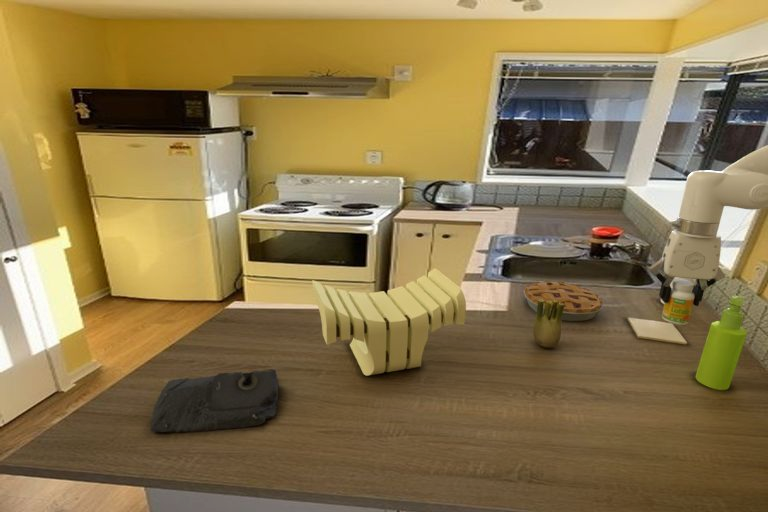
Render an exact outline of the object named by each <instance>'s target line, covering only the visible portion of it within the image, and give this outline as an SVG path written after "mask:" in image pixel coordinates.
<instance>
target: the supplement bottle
mask: <svg viewBox="0 0 768 512" xmlns="http://www.w3.org/2000/svg"><path fill="white" fill-rule="evenodd" d="M694 285H695V284H693V283H692V282H689V281H686V280H680V279H677V280H674V281H673V284H672V287H673V288H671V293H670V297H669V302H667V303H665V304H663V309H662V313H661V319H662V320H664V322H666V323H672V324H673V325H677V326H678V325H680V326H681V325H682V326H683V325H687V324H689V321H690V317H691V313H692V309H693V306H694V304H693V302H694V298H695V295H694V293H693V292H691V291H692V290H693V287H694Z"/></svg>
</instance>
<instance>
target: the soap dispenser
mask: <svg viewBox="0 0 768 512" xmlns="http://www.w3.org/2000/svg"><path fill="white" fill-rule="evenodd" d="M745 299H746V297H745V296H742V295H737V294H733V295H732V296H731V297H730V300H729V302H728V306H729V305H730V306H729V307H728V308H724V309H723V310H722V314H721V317H720V320H716V321H712V322H711V323H710V326H709V330H708V334H707V337H706V340H705V344H704V346H703V350H702V353H701V356H700V360H699V364H698V366H697V370H696V373H695V380H697V381H698V383H700V384H702V385H703V386H705V387H707V388H710V389H713V390H718V391H726V390H728V389H729V388H730V386H731V383H732V380H733V377H734V373H735V370H736V368H737V365H738V362H739V358H740V355H741V353H742V349H743V347H744V343H745V340H746V338H747V335H748V330H747V329H745V328H744V327H742V324H743V321H744V317H745V314H744V312H742V311H741V309H742V306H743V303H744V302H745Z"/></svg>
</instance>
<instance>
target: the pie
mask: <svg viewBox="0 0 768 512" xmlns="http://www.w3.org/2000/svg"><path fill="white" fill-rule="evenodd" d="M523 295H524V298H525V299H526V301H527V303H528V306H529V307H530V308H531V309H533V311H534V312H536V313H537V307H538V300H543V314H544V310H545V305H546V301H552V303H551V309H550V313H549V316H550V314H551V310H552V305H553V300H556V301H558V304H559V302H560V303H563V304H564V305H565V306H564V309H563V313H562V317H561V321H565V322H566V321H568V322H583V321H584V322H585V321H588V320H591V319H594V318H595V316H596V315H597V314H598V313H599V312H601V311H602V309H603V308H604V304H603V301H602V298H600V297H599V295H598V294H597V293H595V292H592V291H590V289H588V288H586V287H580V286H579V285H578V284H575V283H571V284H569V283H565V282H564V281H560V280H559V281H557V282H553V281H551V280H545V281H544V282H543V281H542V282H541V281H534V282H532V283H528V284H526V287H525V288H524V289H523ZM558 304H557V307H558Z"/></svg>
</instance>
